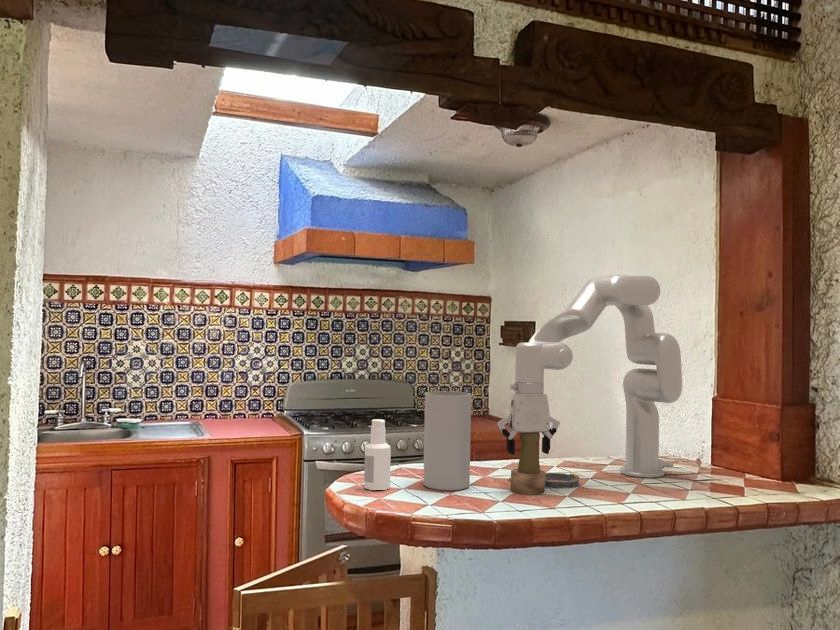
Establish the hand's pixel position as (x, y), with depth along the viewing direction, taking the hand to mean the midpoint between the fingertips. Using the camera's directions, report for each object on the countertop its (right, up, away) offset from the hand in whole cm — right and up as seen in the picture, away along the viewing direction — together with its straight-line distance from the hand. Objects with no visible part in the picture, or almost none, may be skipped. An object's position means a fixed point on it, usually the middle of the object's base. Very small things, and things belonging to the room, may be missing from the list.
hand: (528, 453), depth 182 cm
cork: (0, -5, 0) cm, 5 cm away
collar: (+9, -10, +10) cm, 17 cm away
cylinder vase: (-22, -10, +3) cm, 24 cm away
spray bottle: (-40, -9, -1) cm, 41 cm away
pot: (0, -10, 0) cm, 10 cm away
